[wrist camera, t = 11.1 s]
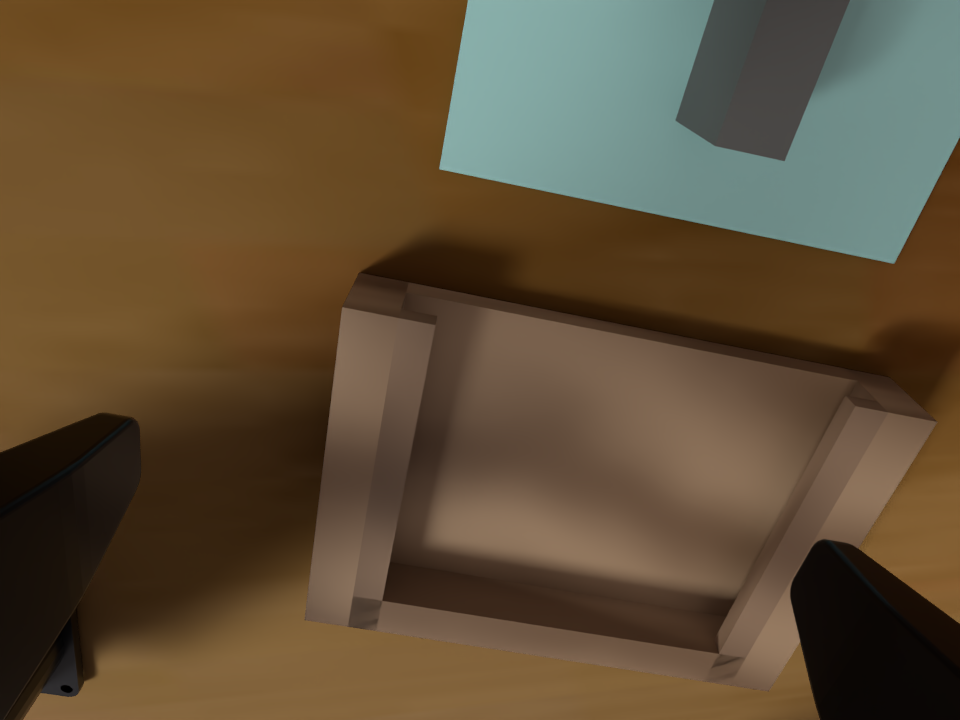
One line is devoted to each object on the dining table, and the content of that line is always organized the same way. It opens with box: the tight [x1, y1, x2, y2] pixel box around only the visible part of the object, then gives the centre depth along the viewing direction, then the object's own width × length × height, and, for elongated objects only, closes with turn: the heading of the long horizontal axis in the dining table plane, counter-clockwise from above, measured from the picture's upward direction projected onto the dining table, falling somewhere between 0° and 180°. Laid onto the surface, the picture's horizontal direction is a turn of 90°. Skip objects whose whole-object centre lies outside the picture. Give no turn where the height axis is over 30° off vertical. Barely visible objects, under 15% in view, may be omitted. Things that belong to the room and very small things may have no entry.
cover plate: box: [439, 0, 960, 264], centre depth 15 cm, size 10×13×4 cm
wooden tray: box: [305, 273, 937, 691], centre depth 22 cm, size 12×17×3 cm
